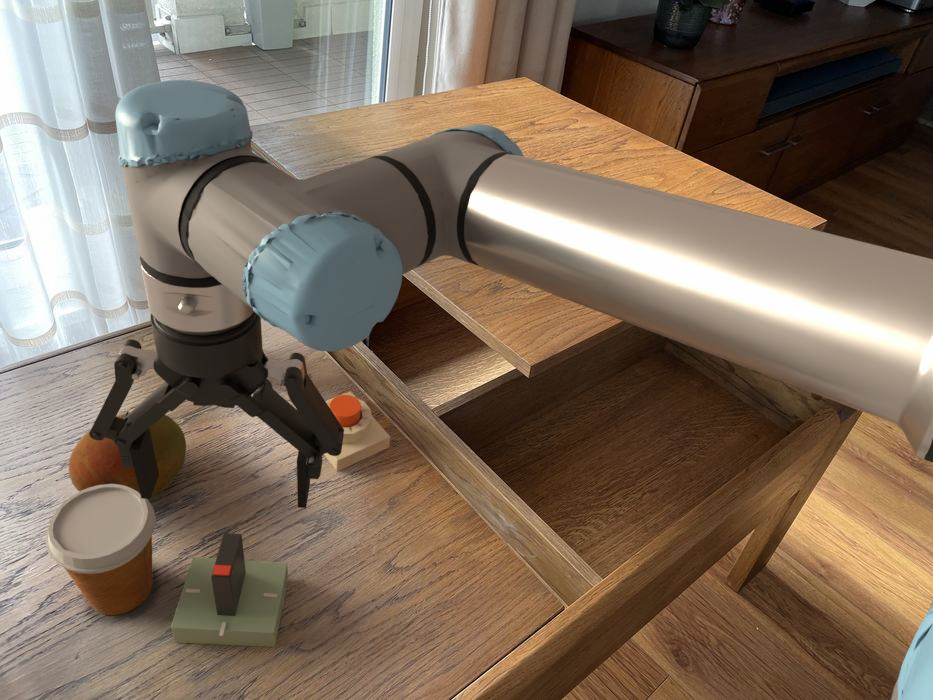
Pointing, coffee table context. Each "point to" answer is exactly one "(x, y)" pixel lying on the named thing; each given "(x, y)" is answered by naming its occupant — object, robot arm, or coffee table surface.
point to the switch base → (360, 439)
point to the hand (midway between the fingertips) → (228, 491)
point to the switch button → (346, 410)
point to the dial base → (253, 613)
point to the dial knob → (228, 574)
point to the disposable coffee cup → (105, 545)
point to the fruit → (104, 462)
